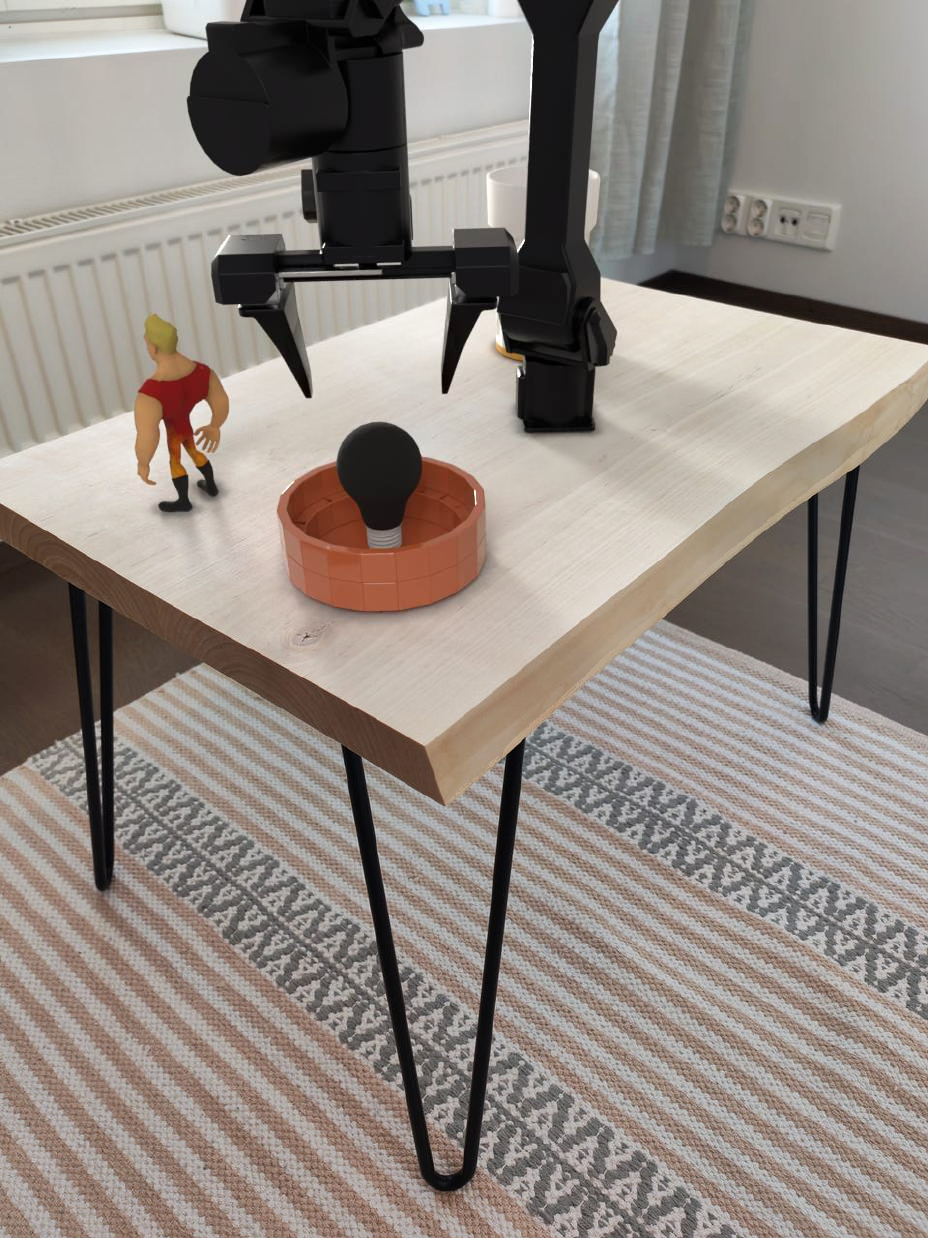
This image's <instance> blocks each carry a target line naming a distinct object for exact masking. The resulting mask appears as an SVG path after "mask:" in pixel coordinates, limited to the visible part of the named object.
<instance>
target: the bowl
mask: <svg viewBox="0 0 928 1238" xmlns="http://www.w3.org/2000/svg"><path fill="white" fill-rule="evenodd" d="M422 466H423V467H422V475H421V479H420V482H419V484H418V486H417V488H416V489H415V491H414V492H413V493H412V495H411V496H410V497H409V499H408V501H407V503H406V507H405V513H404V518H403V522H402V524H401V537H402V544H401V546H400V547H396V548H377V549H371V548H369V545H368V539H367V528H366V526H365V524H364V521H363V519H362V516H361V513H360V510H359V507H358V505H357V503H356V502H355V501H354V500H353V499H352V498H351V497H350V496H349V495H348V494H347V493H346V491H345V490H344V488H343V487H342V485H341V483H340V481H339V477H338V474H337V465H336V460H334V461H332V462H329V463H326V464H323V465H321V466H317V467H314V468H313V469H312V470H309V471H308V472H305V473H304V474H302V475H300V476H299V477H297V478H295V479H294V480H293V481H292V482H290V484H288V486H287V487H286V489H284V490H283V491H282V492H281V494H280V495H279V500H278V503H277V507H276V515H277V523H278V524H277V525H278V529H279V530H278V531H279V537H280V545H281V552H282V560H283V566H284V569H285V571H286V574H287V576H288V579H289V581H290V583H292V584H293V585H294V586H295V587H296V588H298V589H299V590H300V591H301V592H302V593H303V594H305V596H307V597H309V598H312V599H314V600H316V601H318V602H322V603H324V604H326V605H329V606H331V607H334V608H340V609H347V610H353V611H358V612H389V611H390V612H393V611H403V610H407V609H413V608H419V607H423V606H425V605H431V604H434V603H436V602H439V601H440V600H442V599H445V598H447V597H449V596H450V597H451V596H452V595H454V594H457V593H459V592H460V591H461V590H462V589H463V588H465V587H466V586H467V585H469V584H470V583H471V582H472V581H473V580H474V579H475V578H477V577H478V576H479V573H480V571H481V569H482V567H483V566H484V563H485V561H486V558H487V556H486V555H487V554H486V551H487V550H486V547H487V546H486V545H487V544H486V543H487V541H486V539H487V538H486V536H487V535H486V534H487V533H486V528H487V527H486V523H487V521H486V520H487V519H486V517H487V516H486V511H487V508H486V496H485V489H484V488H483V487H482V485H481V484H480V483H479V482H478V480H477V479H476V477H474V475H472V474H470V473H469V472H468V471H465V470H464V469H461V468H460V467H458V466H457V465H455V464H453V463H450V462H446V461H443V460H439V459H436V458H432V457H429V456H422Z"/></svg>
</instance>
